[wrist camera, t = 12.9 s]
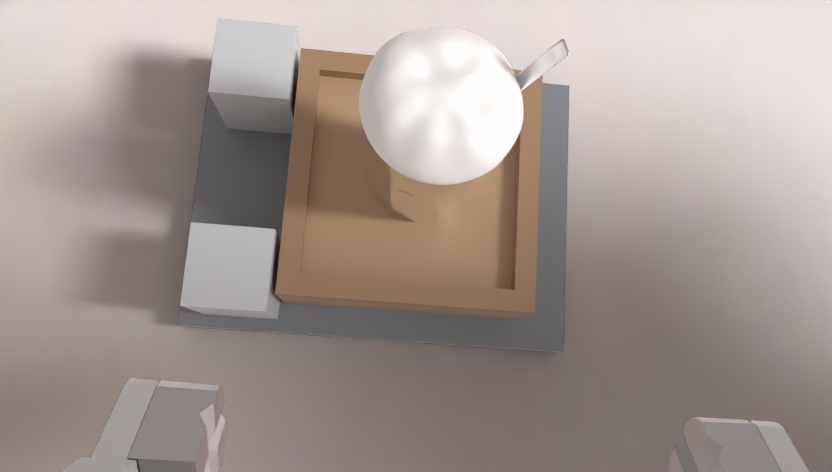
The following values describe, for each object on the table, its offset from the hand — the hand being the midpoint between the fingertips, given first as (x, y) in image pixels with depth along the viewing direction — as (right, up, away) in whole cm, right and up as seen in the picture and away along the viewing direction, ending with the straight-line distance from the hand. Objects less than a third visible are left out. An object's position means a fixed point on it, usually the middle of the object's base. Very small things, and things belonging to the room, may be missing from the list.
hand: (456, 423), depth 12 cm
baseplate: (-2, +5, +19) cm, 20 cm away
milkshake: (0, +5, +15) cm, 16 cm away
